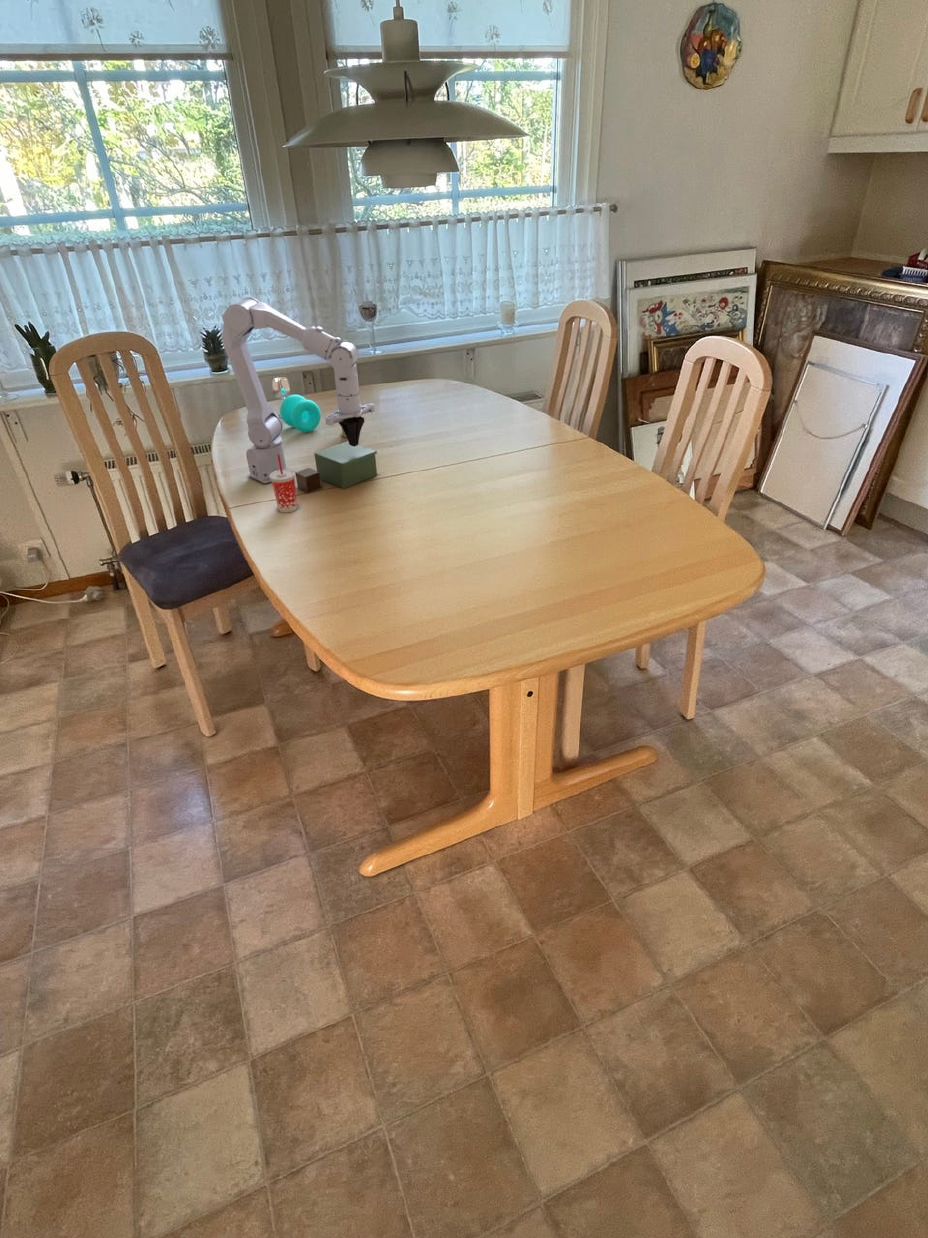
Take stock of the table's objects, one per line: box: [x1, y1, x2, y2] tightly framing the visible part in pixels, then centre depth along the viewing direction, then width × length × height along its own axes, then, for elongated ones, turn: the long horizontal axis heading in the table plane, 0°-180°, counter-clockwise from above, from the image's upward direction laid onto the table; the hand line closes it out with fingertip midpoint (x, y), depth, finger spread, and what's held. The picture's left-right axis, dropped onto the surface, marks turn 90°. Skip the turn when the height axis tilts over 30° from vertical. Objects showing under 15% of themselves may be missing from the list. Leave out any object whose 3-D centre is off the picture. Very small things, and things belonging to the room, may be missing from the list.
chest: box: [314, 454, 378, 489], centre depth 187 cm, size 11×12×6 cm
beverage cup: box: [269, 454, 298, 513], centre depth 169 cm, size 6×6×14 cm
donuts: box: [279, 394, 322, 433], centre depth 217 cm, size 10×10×10 cm
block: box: [295, 467, 322, 494], centre depth 181 cm, size 4×4×4 cm
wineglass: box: [271, 376, 292, 418], centre depth 228 cm, size 6×6×12 cm
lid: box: [313, 440, 378, 466], centre depth 185 cm, size 12×12×1 cm
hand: (353, 444), depth 183 cm, fingers closed
